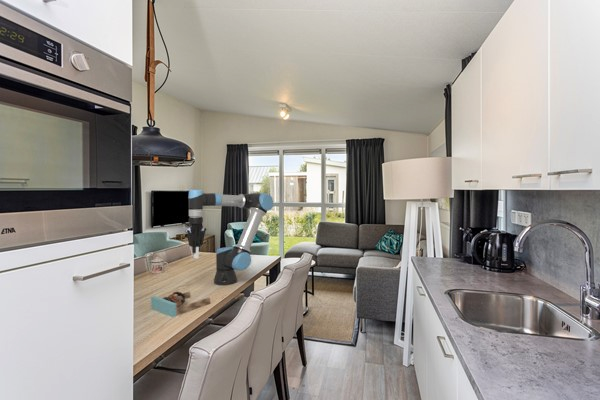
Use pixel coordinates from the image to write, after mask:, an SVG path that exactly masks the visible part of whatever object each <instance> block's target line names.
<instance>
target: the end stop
mask: <svg viewBox="0 0 600 400" xmlns="http://www.w3.org/2000/svg"><path fill="white" fill-rule="evenodd" d="M150 300H151V301H150V302H151V303H150V305H151V306H150V309H151V310H154V311H156V312H159V313H160V314H163V315H166V316H168V317H171V318H174V317H177V316H176V308H177V303H176V302H174V303H173V302H170V301H168V300H165V299H163V297H159V296H156V295H154V296H151V297H150Z"/></svg>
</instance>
